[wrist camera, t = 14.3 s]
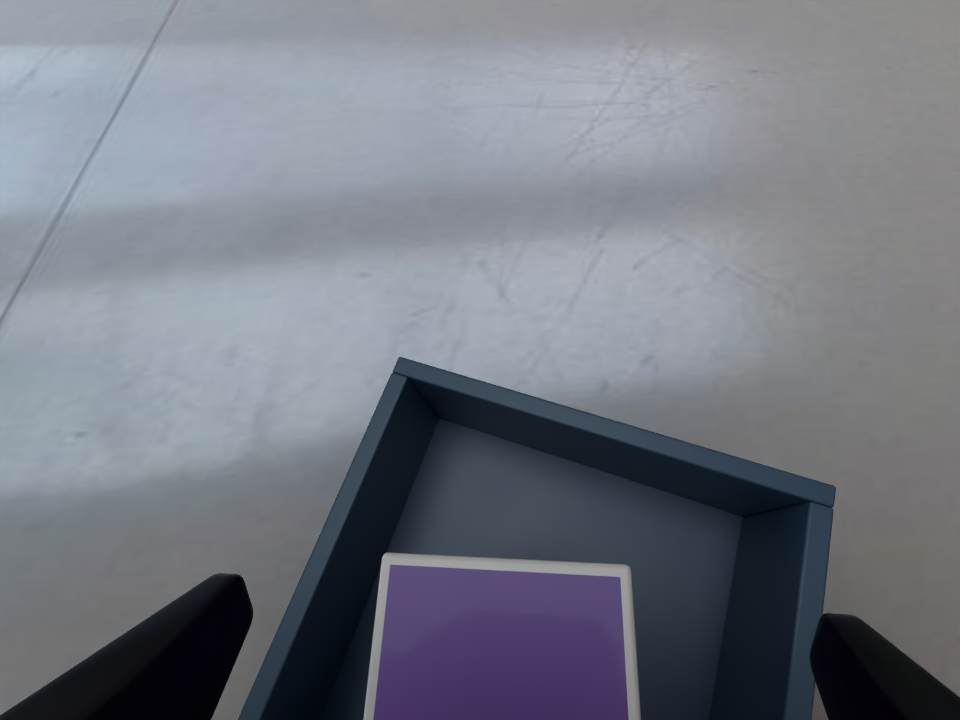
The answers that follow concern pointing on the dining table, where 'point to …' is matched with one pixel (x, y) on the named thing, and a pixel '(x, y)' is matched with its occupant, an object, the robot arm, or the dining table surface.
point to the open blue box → (566, 547)
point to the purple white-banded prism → (502, 640)
